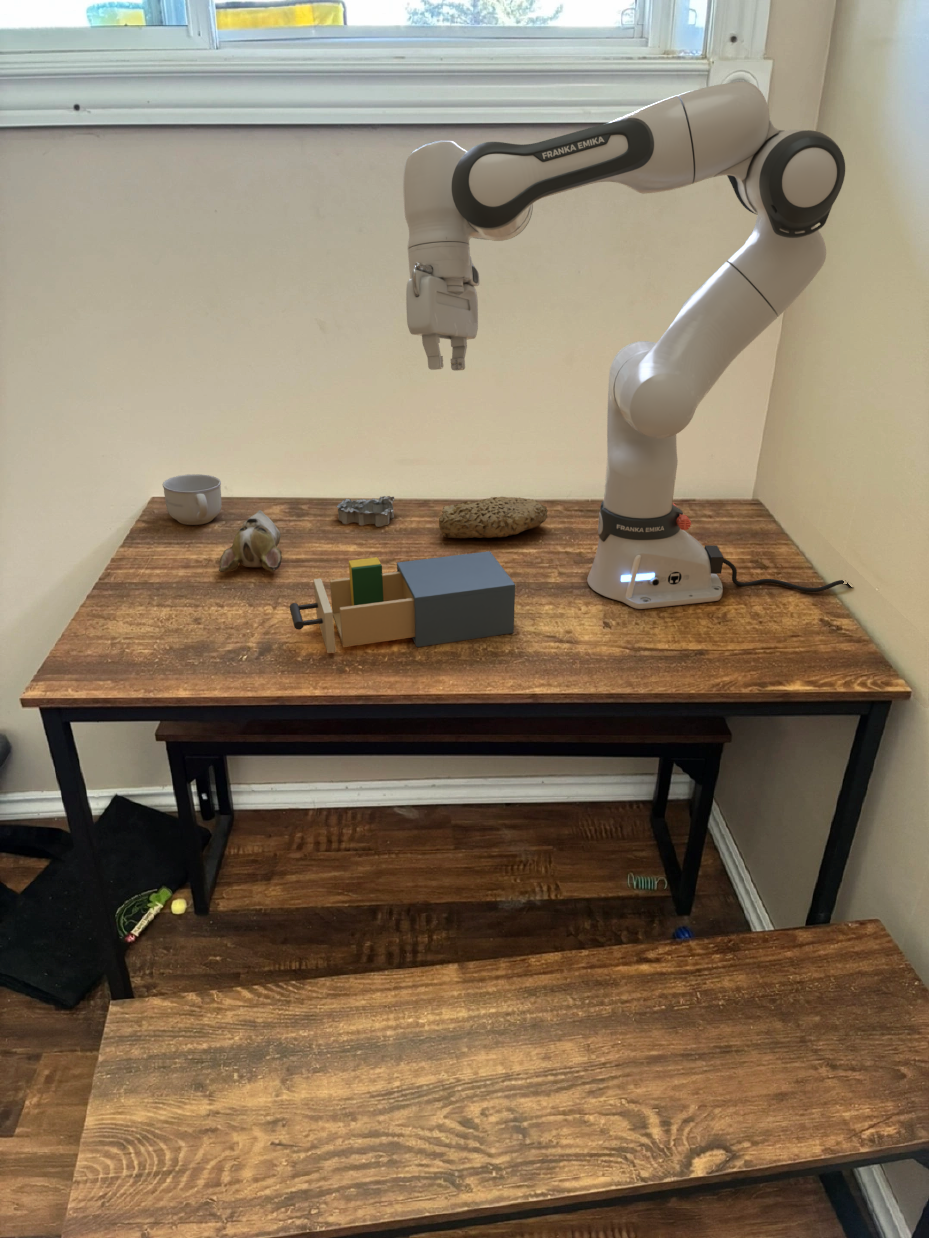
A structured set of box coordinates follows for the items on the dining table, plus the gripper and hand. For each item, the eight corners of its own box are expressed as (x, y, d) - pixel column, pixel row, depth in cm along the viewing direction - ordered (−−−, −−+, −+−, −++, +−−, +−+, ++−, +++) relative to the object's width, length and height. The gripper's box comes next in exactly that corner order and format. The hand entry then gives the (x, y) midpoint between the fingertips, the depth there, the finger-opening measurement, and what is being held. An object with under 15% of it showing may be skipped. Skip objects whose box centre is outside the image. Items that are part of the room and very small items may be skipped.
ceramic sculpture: (288, 501, 159) (273, 540, 146) (293, 544, 164) (280, 585, 151) (229, 502, 159) (209, 540, 146) (236, 544, 164) (218, 585, 151)
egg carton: (397, 515, 177) (397, 496, 175) (385, 529, 170) (384, 509, 168) (347, 509, 179) (346, 490, 177) (334, 523, 173) (332, 504, 171)
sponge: (441, 551, 164) (547, 536, 161) (433, 511, 162) (541, 494, 158) (452, 536, 177) (551, 521, 173) (445, 497, 174) (544, 481, 171)
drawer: (298, 657, 128) (294, 617, 124) (289, 621, 137) (285, 582, 134) (423, 639, 132) (422, 600, 129) (406, 605, 142) (405, 567, 138)
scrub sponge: (380, 608, 138) (377, 557, 134) (384, 618, 136) (382, 565, 131) (351, 612, 137) (348, 560, 133) (355, 622, 134) (352, 569, 130)
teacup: (168, 512, 177) (162, 474, 174) (223, 506, 180) (218, 469, 176) (169, 539, 166) (162, 499, 162) (228, 532, 169) (223, 493, 165)
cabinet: (416, 647, 132) (415, 597, 128) (398, 609, 142) (396, 562, 138) (513, 633, 136) (515, 584, 131) (489, 597, 146) (490, 551, 142)
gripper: (434, 257, 115) (442, 367, 118) (482, 275, 134) (488, 369, 137) (390, 263, 117) (399, 370, 120) (444, 280, 136) (450, 372, 139)
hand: (447, 370), depth 129 cm, fingers open, 8 cm apart
